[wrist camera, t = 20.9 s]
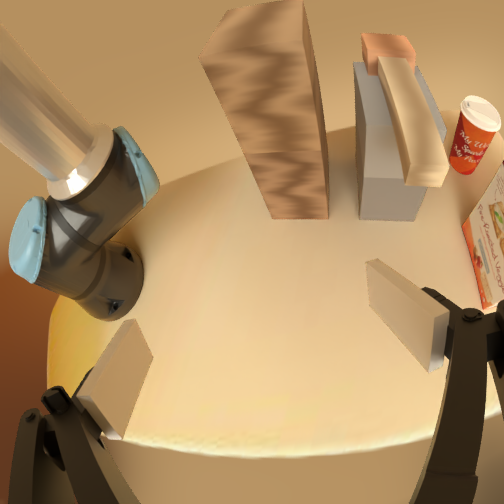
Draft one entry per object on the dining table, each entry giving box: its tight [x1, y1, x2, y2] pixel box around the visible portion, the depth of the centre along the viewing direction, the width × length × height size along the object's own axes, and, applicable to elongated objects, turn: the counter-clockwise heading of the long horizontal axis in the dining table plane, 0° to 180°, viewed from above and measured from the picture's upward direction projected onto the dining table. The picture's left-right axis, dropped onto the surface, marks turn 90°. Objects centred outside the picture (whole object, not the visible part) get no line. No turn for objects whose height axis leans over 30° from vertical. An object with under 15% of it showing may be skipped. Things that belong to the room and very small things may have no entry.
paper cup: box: [449, 96, 501, 175], centre depth 35 cm, size 8×8×14 cm
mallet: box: [361, 33, 450, 188], centre depth 24 cm, size 6×22×4 cm, turn 172°
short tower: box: [353, 62, 447, 221], centre depth 35 cm, size 9×13×20 cm
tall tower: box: [198, 0, 329, 219], centre depth 35 cm, size 9×13×30 cm
